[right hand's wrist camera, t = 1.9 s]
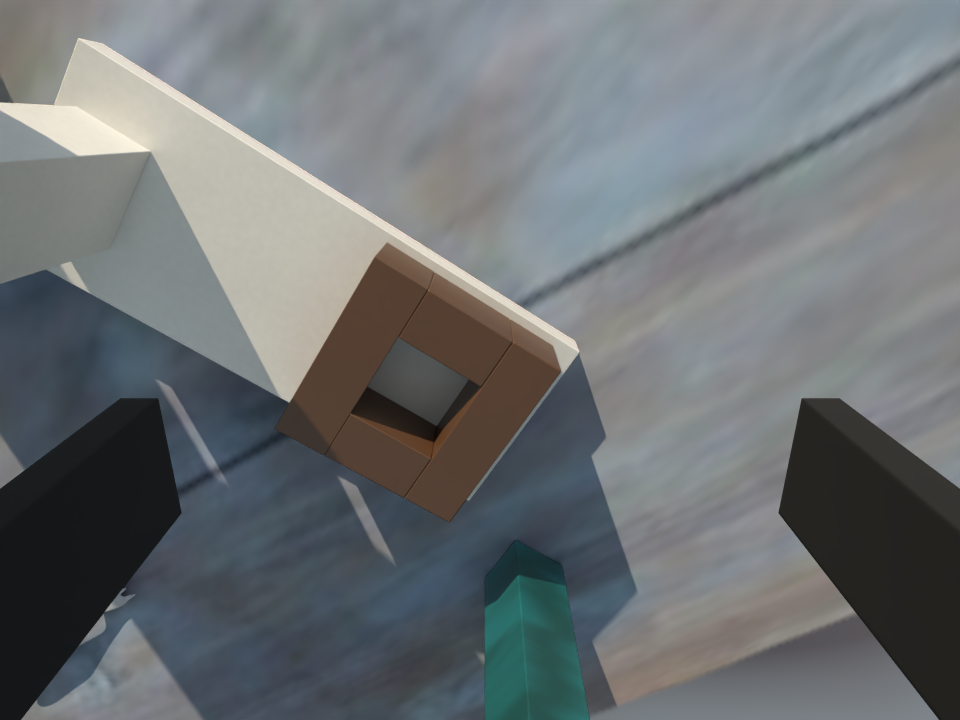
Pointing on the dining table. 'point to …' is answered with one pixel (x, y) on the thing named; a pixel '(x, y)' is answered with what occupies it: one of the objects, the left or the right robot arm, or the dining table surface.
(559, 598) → the peg
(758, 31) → the dining table surface
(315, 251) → the peg board
